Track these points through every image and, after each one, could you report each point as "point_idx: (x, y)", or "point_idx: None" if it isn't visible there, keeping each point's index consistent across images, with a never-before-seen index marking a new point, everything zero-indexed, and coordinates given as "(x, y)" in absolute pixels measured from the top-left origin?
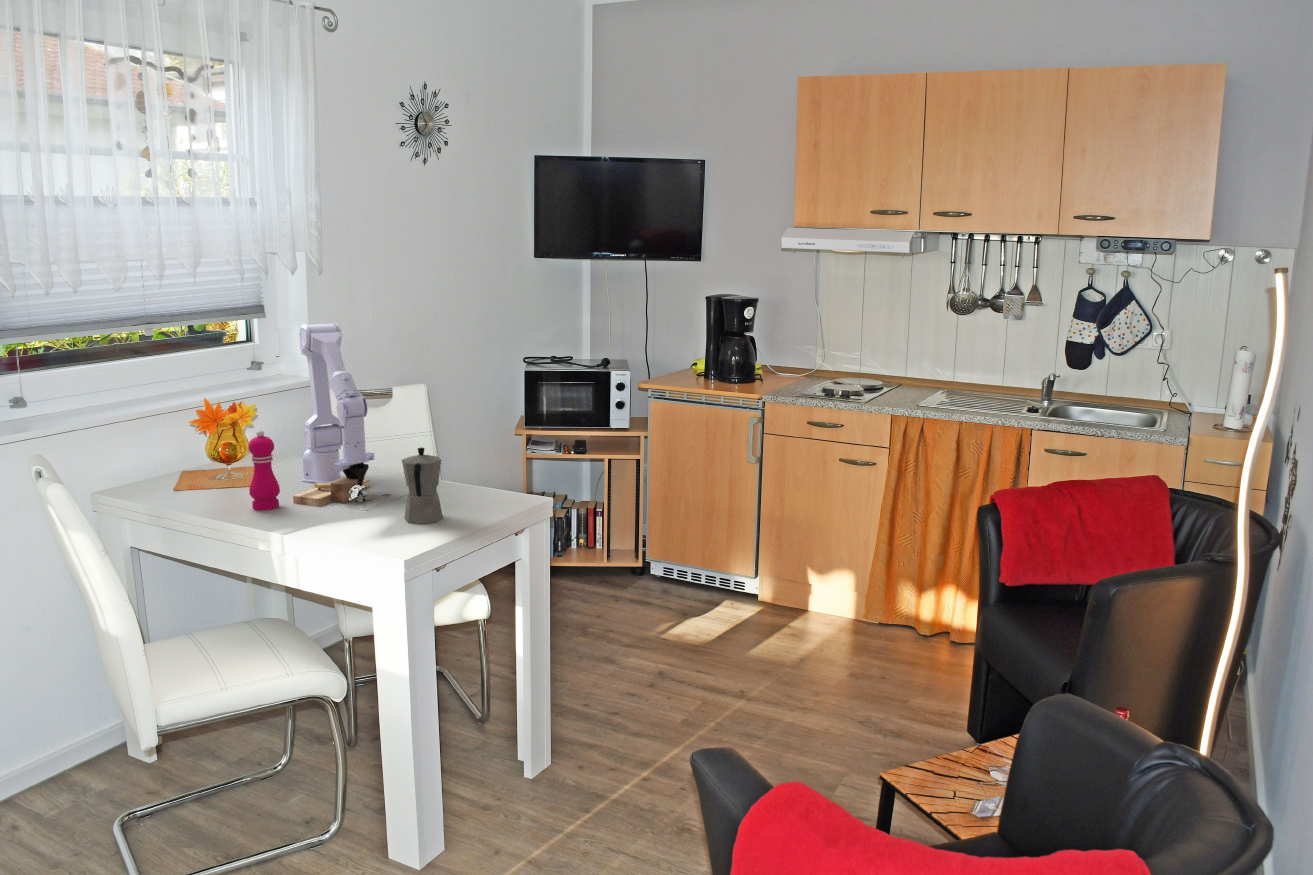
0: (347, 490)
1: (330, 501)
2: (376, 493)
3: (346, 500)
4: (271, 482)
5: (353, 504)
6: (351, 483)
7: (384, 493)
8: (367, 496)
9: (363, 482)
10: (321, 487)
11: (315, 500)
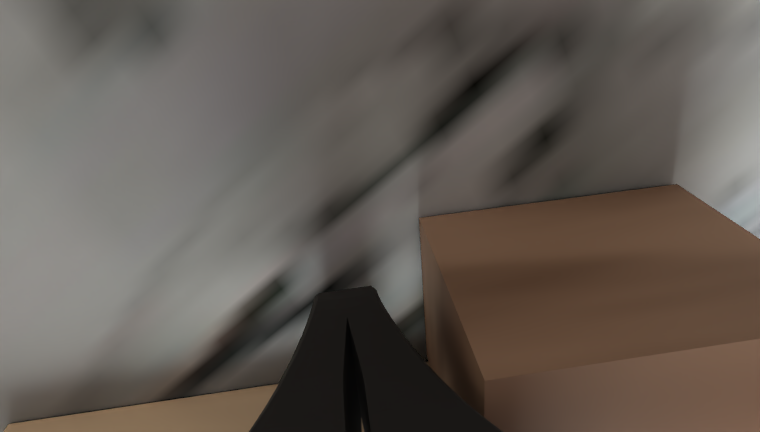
0: (701, 262)
1: None
2: (145, 180)
3: (652, 199)
4: None
5: (673, 77)
6: (647, 330)
7: (71, 88)
8: (314, 178)
9: None
10: None
11: None
